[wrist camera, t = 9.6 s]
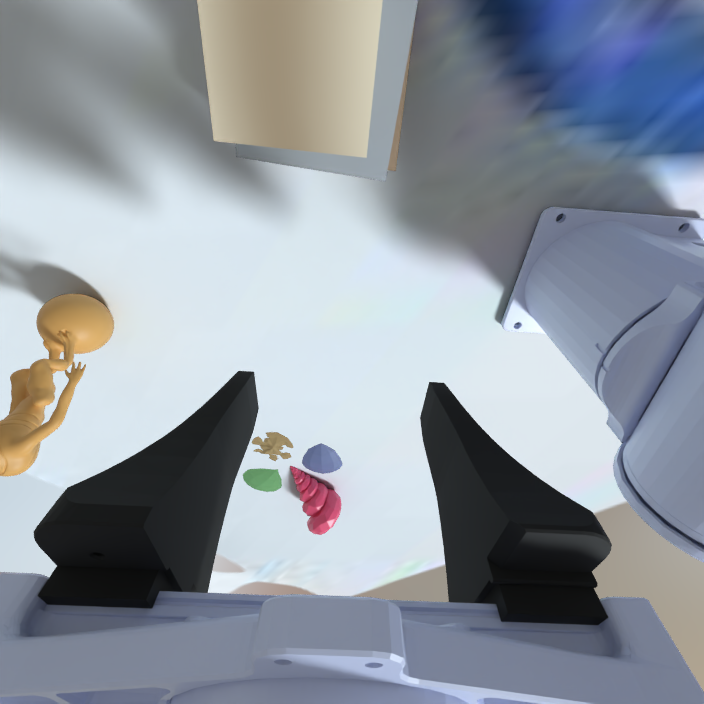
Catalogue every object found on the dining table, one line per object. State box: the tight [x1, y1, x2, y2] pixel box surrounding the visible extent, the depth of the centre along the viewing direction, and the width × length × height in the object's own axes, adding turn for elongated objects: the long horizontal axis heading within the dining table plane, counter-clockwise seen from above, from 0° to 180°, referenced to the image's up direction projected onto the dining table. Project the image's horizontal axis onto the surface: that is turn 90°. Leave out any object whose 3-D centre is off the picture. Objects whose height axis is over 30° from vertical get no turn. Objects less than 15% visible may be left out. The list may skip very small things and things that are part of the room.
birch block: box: [197, 0, 383, 158], centre depth 10 cm, size 4×4×5 cm
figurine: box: [0, 294, 114, 476], centre depth 20 cm, size 8×6×12 cm
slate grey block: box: [236, 0, 418, 181], centre depth 13 cm, size 6×6×3 cm
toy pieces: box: [243, 432, 342, 535], centre depth 33 cm, size 12×11×4 cm
